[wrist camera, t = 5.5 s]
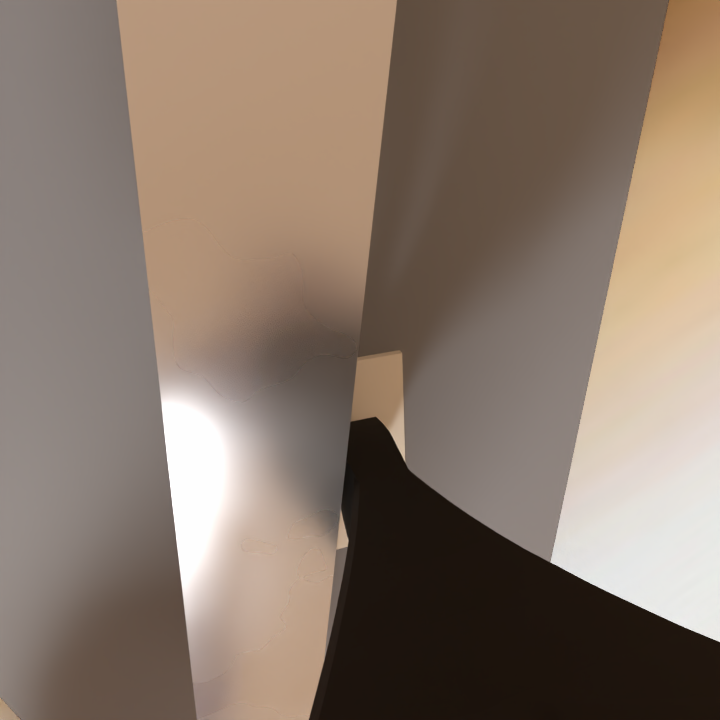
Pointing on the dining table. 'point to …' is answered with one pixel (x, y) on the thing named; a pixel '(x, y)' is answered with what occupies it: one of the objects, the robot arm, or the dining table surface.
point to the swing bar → (256, 311)
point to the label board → (378, 327)
